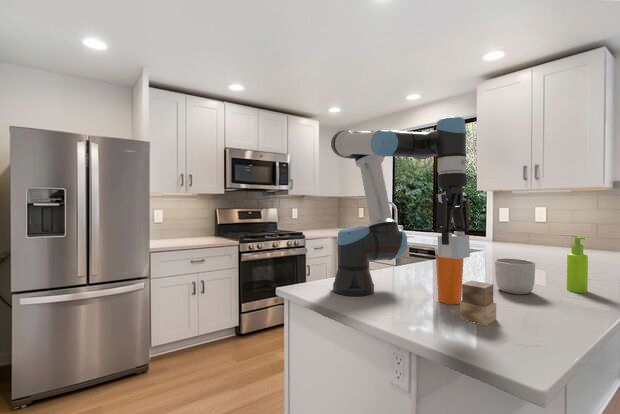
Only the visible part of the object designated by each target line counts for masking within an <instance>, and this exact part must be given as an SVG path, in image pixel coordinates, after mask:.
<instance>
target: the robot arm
mask: <svg viewBox="0 0 620 414" xmlns="http://www.w3.org/2000/svg"><path fill="white" fill-rule="evenodd" d="M435 128H436V129H435V130H432V131H430V132H416V131H415V132H414V131H401V130H391V129H379V130H376V131H374V130H357V129H342V130H339V131H337V132H336V133H335V134H334V135H333V136H332V138H331V140H330V147H331V150H332V151H333V153H334V154H335V155H336V156H337V157H341V158H343V159H350V160H352V159H354V160H355V166H356V167H358V168H359V169H360V173H361V178H362V185H363V191H364V196H365V202H366V206H367V207H366V209H367V212H368V217H369V218H368V219H369V224H368V225H367V226H364V225H363V226H362V225H360V226H352V227H351V226H350V227H345V228H343V229H340V230H339V231H338V233H337V239H336V240H337V242H336V245H337V246H336V247H337V249H336V250H337V255H336V256H337V271H336V274H335V276H334V277H335V278H334V281H333V283H332V290H333V292H334V293H335V294H339V295H342V296H349V297H362V296H363V297H364V296H369V295H371V294H374V292H375V284H374V281H373V279H372V278H373V277H372V274H371V270H370V262H376V261H387V260H388V261H392V260H397V259H400V258H402V257H403V256H404V254H405V253H406V250H407V247H408V237H407V233H406V232H405V230H403V229H402V228H399V227H398V222H397V221H396V220H394V219H393V217H392V213H391V206H390V203H389V197H388V190H387V186H386V183H385V177H384V176H385V175H384V172H383V167H382V163H383V162H384V160H385V157H396V158H397V157H400V158H401V157H403V158H412V159H414V160H418V161H420V160H427V159H429V158H434V157H437V173H438V175H437V187H438V188H440V189H442V190H441V193H440V194H436V195H435V202H436V210H435V211H436V212H435V214H436V218H435V220H436V221H435V225H436V226H435V230H436V231H437V233H439V234H440V233H441V235H442V256H445V257H453V254H452V234H453V235H465V232H468V231H469V228H470V227H469V225H470V224H469V211H468V210H469V207H468V205H469V204H468V200H469V195H468V194H464V193H463V188H466V187H467V185H468V181H467V180H468V176H467V175H468V174H466V172H467V164H468V159H467V127H466V121H465V119H464V118H463V117H460V116H449V117H448V116H447V117H442V118H440V119H439V120H438V121H437V122H436V127H435ZM452 222H454V223H453V224H454V227H455V231H453V233H452V232H451V230H452Z"/></svg>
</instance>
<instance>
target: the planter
mask: <svg viewBox="0 0 620 414" xmlns="http://www.w3.org/2000/svg"><path fill="white" fill-rule="evenodd" d="M494 269H495V273H494V274H495V281H496V286H497V288H498V289H499V290H501V291H502V292H504V293H509V294H514V295H526V294H527V295H528V294H530V293H532V292H533V289H534V286H535V277H536V263H535V262H534V261H532V260H527V259H520V258H507V257H506V258H505V257H504V258H496V259H495V260H494Z"/></svg>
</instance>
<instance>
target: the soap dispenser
mask: <svg viewBox="0 0 620 414" xmlns="http://www.w3.org/2000/svg"><path fill="white" fill-rule="evenodd" d="M572 237H573V239H574V242H573V244H571V247H570V248H571V251H570V253H567V254H566V290H567V291H568V292H572V293H580V294H584V293H588V291H589V290H588V289H589V288H588V284H589V283H588V280H589V278H588V276H589V273H588V270H589V269H588V267H589V266H588V264H589V256H588V255H587V254H584V244H581V240H585V236H582V235H572Z"/></svg>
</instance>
